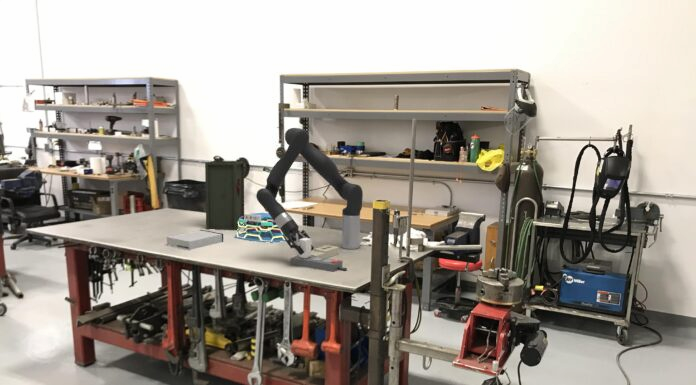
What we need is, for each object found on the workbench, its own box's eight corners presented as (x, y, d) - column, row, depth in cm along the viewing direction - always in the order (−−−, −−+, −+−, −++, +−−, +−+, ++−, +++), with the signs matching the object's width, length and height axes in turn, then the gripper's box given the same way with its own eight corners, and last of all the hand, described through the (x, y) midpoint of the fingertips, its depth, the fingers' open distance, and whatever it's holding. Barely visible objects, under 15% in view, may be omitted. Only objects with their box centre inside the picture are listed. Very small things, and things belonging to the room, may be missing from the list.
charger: (304, 262, 227) (304, 237, 225) (311, 263, 225) (311, 238, 223) (298, 264, 222) (299, 239, 221) (305, 265, 221) (306, 240, 219)
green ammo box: (215, 223, 315) (214, 160, 310) (244, 224, 314) (243, 161, 309) (206, 229, 296) (205, 162, 291) (236, 230, 296) (236, 163, 291)
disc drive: (223, 242, 265) (223, 233, 264) (189, 250, 246) (189, 240, 245) (200, 238, 274) (200, 229, 273) (166, 245, 255) (166, 236, 254)
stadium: (301, 236, 282) (301, 212, 280) (277, 245, 261) (277, 218, 259) (251, 230, 297) (251, 206, 296) (225, 237, 276) (225, 212, 274)
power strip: (300, 260, 229) (300, 252, 229) (350, 268, 218) (350, 260, 217) (290, 264, 222) (290, 256, 222) (342, 272, 211) (342, 264, 210)
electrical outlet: (303, 251, 232) (327, 244, 246) (303, 259, 232) (327, 252, 247) (315, 253, 228) (338, 246, 242) (315, 262, 228) (338, 255, 243)
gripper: (282, 221, 218) (304, 249, 215) (299, 216, 231) (320, 243, 227) (272, 231, 221) (293, 260, 218) (290, 226, 234) (310, 253, 230)
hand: (307, 251), depth 222 cm, fingers open, 8 cm apart
